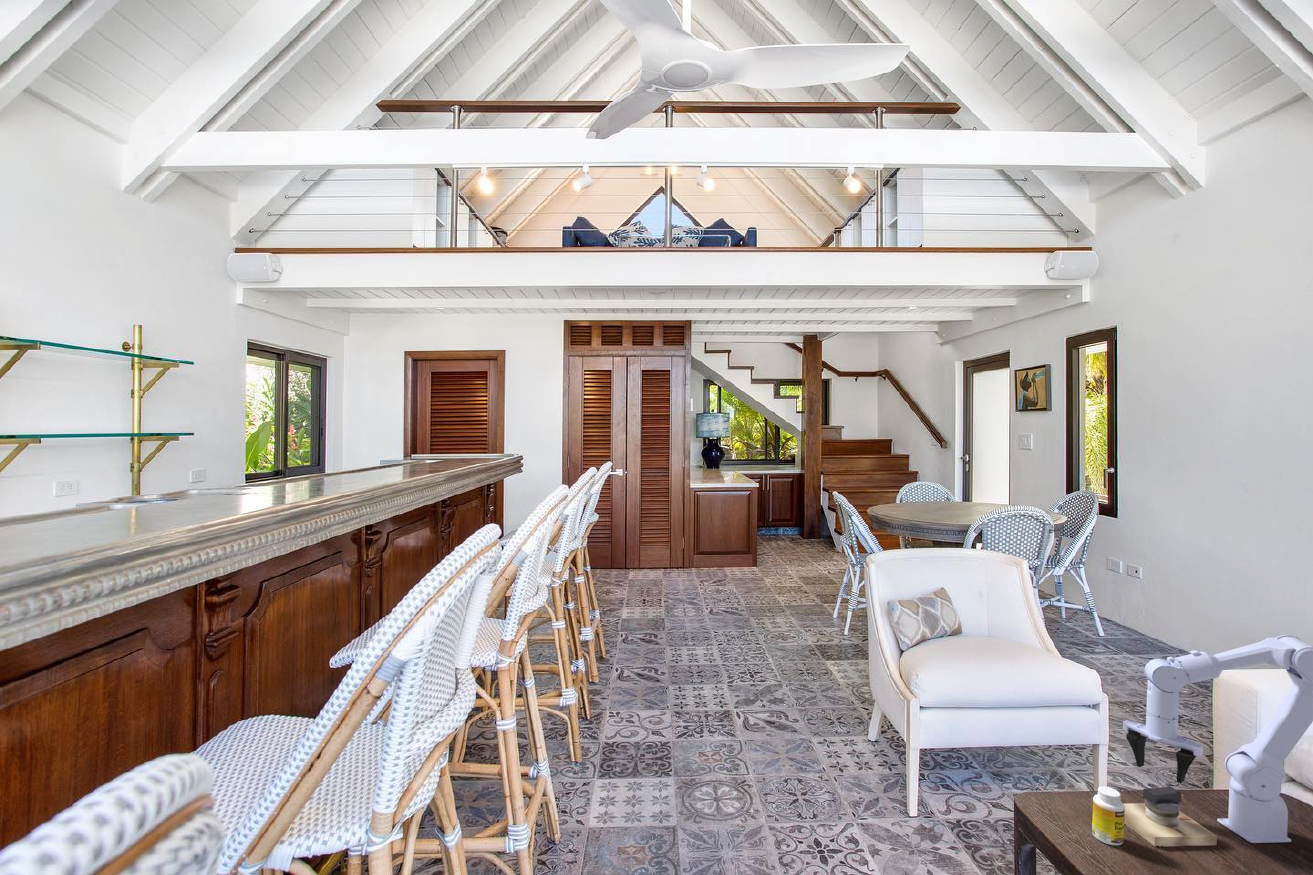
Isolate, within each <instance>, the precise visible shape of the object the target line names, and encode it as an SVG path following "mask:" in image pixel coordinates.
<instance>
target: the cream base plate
mask: <svg viewBox="0 0 1313 875" xmlns="http://www.w3.org/2000/svg"><path fill="white" fill-rule="evenodd" d="M1123 804H1124V806H1125V816H1124V825H1125V824H1126V826H1127V827H1128V828H1129V829H1131V830H1132V831H1133V830H1134V831H1133V832H1134V833H1136V834H1137V835H1138V836H1140V837H1141V838H1143V839H1144V840H1145V841H1146V840H1147V841H1146V842H1148V843H1149V844H1150V845H1152V846H1153V847H1155V848H1157V847H1156V846H1159V847H1161V846H1163V847H1190V846H1191V847H1195V846H1198V847H1199V846H1217V842H1218V841H1217V840H1218V838H1217V837H1218V836H1217V835H1216V833H1213V832H1212V831H1210V830H1209V829H1208V828H1206V827H1204V826H1203V825H1202V824H1200V823H1199V822H1197V821H1195V820H1194V819H1192V818H1191V817H1189V816H1188V815H1186V814H1185V813H1183V812H1182V811H1181V810H1179V816H1177V817H1167V816H1163V815H1160V814H1157V813H1155V812H1153V811H1151V810H1150V809H1148V808H1147V807H1146V806H1145V802H1143V803H1142V802H1139V803H1132V802H1131V803H1123Z"/></svg>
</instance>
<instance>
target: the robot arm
mask: <svg viewBox="0 0 1313 875" xmlns="http://www.w3.org/2000/svg"><path fill="white" fill-rule="evenodd" d="M1189 653H1190V654H1185V655H1180V656H1177V657H1176V656H1175V657H1172V656H1168V657H1166V660H1165V659H1161V658H1155V659H1151V660H1149V661H1148V662H1147V663H1145V667H1143V668H1142V672H1143V674H1144V676H1145V677H1146V679H1147V690H1146V711H1145V713H1146V714H1145V715H1146V716H1145V724H1143V723H1139V722H1134V721H1130V720H1128V719H1126V720H1124V721H1122V731H1126V732H1127V733H1126V735H1125V738H1126V740H1127V741H1128V743H1129V745H1130V747H1131V750H1132V752H1133V755H1134V758H1135V763H1136V767H1137V768H1142V767H1143V766H1145V760H1146V759H1145V757H1146V755H1145V752H1146V751H1145V750H1146V742H1147V739H1149V740H1152V741H1154V742H1158V743H1162V744H1165V745H1167V746H1171V747H1174V748H1177V749H1179V750H1178V751H1177V752H1175V757H1176V766H1177V768H1176V769H1177V770H1176V782H1177V783H1179V784H1182V783H1183V782H1185V778H1186V776H1187V772H1188V770H1189V768H1190V767H1191V764H1192V763H1193V761H1194V760H1195V759H1196V758H1197V757H1198V758H1200V757H1201V756H1203V753H1204V752H1203V750H1204V749H1203V748H1204V747H1203V745H1201V744H1199V743H1198V744H1197V743H1195V742H1194V741H1191V740H1189V739H1187V738H1185V737H1182V736H1181V735H1178V734H1179V733H1178V732H1179V705H1180V704H1179V702H1180V699H1179V698H1180V697H1179V696H1180V694H1179V693H1180V691H1181V690H1182V689H1183V688H1184V687H1185V685H1189V684H1193V683H1199V682H1204V681H1209V680H1213V679H1218V678H1219V677H1220V675H1221V674H1222V672H1223V671H1227V670H1233V669H1239V668H1245V667H1246V668H1247V667H1251V666H1256V665H1263V664H1266V665H1267V664H1268V665H1271V666H1274V667H1278V668H1280V669H1284V670H1286V672H1287V674H1288V676H1289V678H1290V679H1291V682H1292V684H1293V685H1292V687H1291V688H1290V689H1289V691H1288V693H1287V694H1286V695H1285V697H1284V698H1283V699H1282V701H1281V703H1279V705H1278V707H1277V708H1276V709H1275V711H1274V712H1273V714H1272V715H1271V717H1270V718H1269V719H1268V720H1267V722H1266V723H1265V725H1264V726H1263V727H1262V729H1260V731H1259V733H1258V734H1257V736H1256V737H1255V739H1253V742H1250V743H1246V744H1242V745H1241V746H1240V747H1239V748H1238V750H1236V751H1234V752H1232V753H1229V754H1228V755H1227V756H1226V757H1225V759H1224V760H1225V761H1224V768H1225V770H1226V771H1227V773H1229V775H1230V780H1229V787H1228V789H1229V790H1228V816H1227V818H1226V817H1225V818H1217V819H1216V821H1217V822H1218V823H1220V824H1221V825H1222V826H1224V827H1226V828H1227V829H1229V830H1230V831H1232V832H1233V833H1234V834H1237V835H1238V836H1240V837H1242V838H1243V839H1244V840H1246V841H1247V842H1249V843H1252V844H1265V843H1266V844H1267V843H1273V844H1274V843H1291V842H1292V839H1291V838H1289V837H1288V822H1289V821H1288V820H1289V811H1288V810H1289V809H1288V806H1287V804H1286V801H1285V800H1284V799H1283V798H1282V796H1280V795H1281V792H1282V782H1283V781H1284V779H1285V777H1286V772H1285V765H1284V761H1285V760H1286V759H1287V758H1288V756H1289V755H1290V753H1292V751H1293V749H1294V748H1295V746H1296V745H1298V742H1299V741H1300V740H1301V739H1302V737H1303V736H1304V734H1305V733H1306V732H1307V730H1308V729H1309V727H1310V726H1311V725H1312V723H1313V645H1311V644H1310V643H1307V642H1305V641H1303V640H1301V639H1300V638H1299V637H1297V636H1294V635H1290V634H1281V635H1279V636H1276V637H1266V638H1264V639H1262V640H1260V641H1259V642H1254V643H1251V644H1247V645H1243V646H1241V647H1236V648H1233V649H1230V650H1226V651H1223V652H1219V653H1216V654H1215V653H1214V654H1210V653H1208V652H1206V651H1199V650H1196V649H1194V650H1190V651H1189Z"/></svg>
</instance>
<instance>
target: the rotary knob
mask: <svg viewBox="0 0 1313 875" xmlns="http://www.w3.org/2000/svg"><path fill="white" fill-rule="evenodd" d="M1142 795H1143V796H1142V798H1143V799H1144V803H1145V806H1146V807H1147V808H1148V809H1150V810H1151V811H1153V812H1155V813H1157V814H1160V815H1163V816H1167V817H1177V816H1179V811H1180V809H1181V808H1180V805H1181V804H1180V803H1182V801H1183V800H1185V794H1183V793H1182V792H1180V791H1179V790H1177V789H1176V788H1174V787H1172V786H1163V787H1147V788H1143V794H1142Z"/></svg>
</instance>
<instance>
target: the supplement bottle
mask: <svg viewBox="0 0 1313 875" xmlns="http://www.w3.org/2000/svg"><path fill="white" fill-rule="evenodd" d="M1121 800H1122V799H1121V792H1119V791H1118V790H1116V789H1114V788H1112V787H1108V786H1098V788H1097V794H1095V795H1094V796H1093V798H1092V821H1091V822H1092V823H1091V832H1092V835H1093V836H1094V838H1096V839H1097V840H1098V841H1100V842H1102V843H1104V844H1107V845H1109V846H1121V845H1123V844H1124V834H1125V824H1124V816H1125V806H1124V804H1125V803H1123V802H1122V801H1121Z"/></svg>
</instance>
